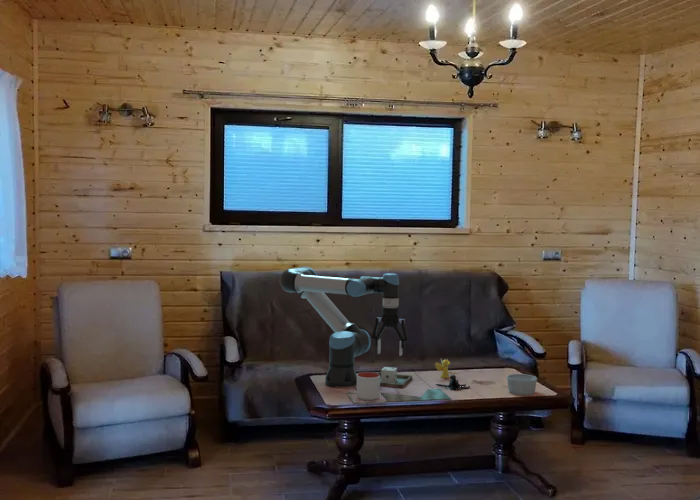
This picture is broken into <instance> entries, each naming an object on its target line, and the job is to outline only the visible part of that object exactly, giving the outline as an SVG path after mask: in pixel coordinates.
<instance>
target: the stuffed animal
mask: <svg viewBox="0 0 700 500" xmlns="http://www.w3.org/2000/svg"><path fill="white" fill-rule="evenodd" d="M456 376H457V375H456V374H451V375H450V376H449V379H450V380H449V384H441V383H435V386H436V385H437V387H443V386H444V388H447V387H449V388H447V389H446V390H448V389H450V390H449V391H453V390H454V391H459V390H461V391H462V390H467V389H470V387H471V386H470V385H467V383H463V384H460V383H459V380H458V379H457V377H456ZM466 385H467V386H466ZM460 386H461V387H460ZM462 386H464V387H462ZM456 388H457V389H456ZM466 388H467V389H466Z"/></svg>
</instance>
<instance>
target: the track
mask: <svg viewBox="0 0 700 500" xmlns="http://www.w3.org/2000/svg"><path fill="white" fill-rule="evenodd" d="M356 392H357V391H354V392H346V393H345V394H346V395H347V397H348V398H349V399H350V401H351V402H352V404H354V405H356V404H358V405H359V404H377V403H381V404H382V403H401V402H422V401H444V400H445V401H446V400H447V401H448V400H452V397H451V396H449V395H448V394H447V393H445V392H444V391H443V390H442V389H441V388H428V389H426V391H424V393H423V394H422V395H421V396H418V395H417V396H416V395H408V394H407V395H404V394H395V393H386V392H380V394H381V396H382V398H384V399H385V400H367V401H355V400H354V398H353V397H352V395H353V394H354V395H355V394H356Z"/></svg>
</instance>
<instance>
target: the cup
mask: <svg viewBox="0 0 700 500" xmlns="http://www.w3.org/2000/svg"><path fill="white" fill-rule="evenodd" d="M356 375H357V385H356V391H355V392H356V397H357V398H358V399H359V400H363V401H376V400H377V399H379V397H380V394H381V391H380V390H381V386H380V375H379V374H377V373H376V372H371V371H369V372H368V371H367V372H365V371H364V372H359V373H356Z"/></svg>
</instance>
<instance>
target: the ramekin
mask: <svg viewBox="0 0 700 500" xmlns="http://www.w3.org/2000/svg"><path fill="white" fill-rule="evenodd" d="M506 380H507V389H508V391H509V393H511V394H513V395H516V394H517V395H516V396H530V395H533V394H534V393H535V392H536V387H537V382H538V378H537V377H536V376H535V375H531V374H526V373H525V374H524V373H512V374H508V375H507V376H506Z"/></svg>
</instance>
